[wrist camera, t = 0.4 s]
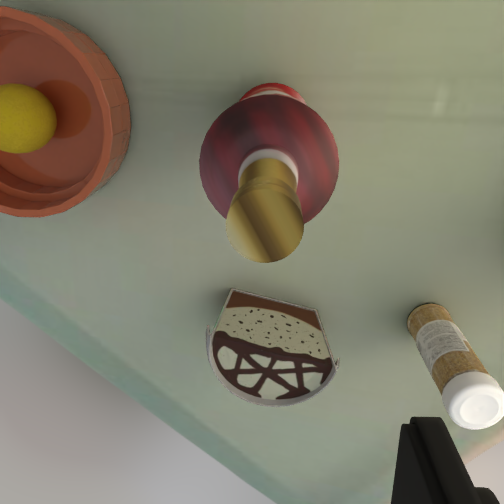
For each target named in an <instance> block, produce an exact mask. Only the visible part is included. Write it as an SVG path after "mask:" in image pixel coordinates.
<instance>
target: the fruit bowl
mask: <svg viewBox="0 0 504 504" xmlns="http://www.w3.org/2000/svg"><path fill="white" fill-rule="evenodd" d="M9 83H13V84H23V85H27V86H30V87H33V88H35V89H36V90H38V91H40V92H41V93H42V94H44V95H45V96H46V97H47V98H48V99H49V101H50V102H51V104H52V105H53V107H54V110H55V112H56V117H57V126H56V130H55V133H54V135H53V137H52V138H51V140H50V141H49V142H48V143H47V144H46V145H44V146H43V147H42V148H40V149H38V150H35V151H32V152H29V153H10V152H4V151H2V150H0V212H2V213H6V214H9V215H13V216H17V217H45V216H49V215H53V214H57V213H61V212H64V211H66V210H68V209H70V208H72V207H73V206H75V205H77V204H78V203H80V202H82V201H83V200H85V199H86V198H87V197H89V196H90V195H92V194H93V193H94V192H96V191H97V190H99V189H100V188H101V187H103V186H104V185H105V184H106V183H107V182H108V181H109V179H110V178H111V177H112V176H113V175H114V174H115V173H116V172H117V170H118V169H119V167H120V165H121V163H122V161H123V158H124V156H125V154H126V152H127V149H128V143H129V137H130V131H131V122H130V111H129V102H128V99H127V96H126V93H125V90H124V87H123V84H122V81H121V78H120V76H119V75H118V73H117V72H116V70H115V68H114V67H113V65H112V64H111V62H110V60H109V59H108V57H107V56H106V55H105V53H104V52H103V51H102V50H101V49H100V48H99V47H98V46H97V45H96V44H95V43H94V42H93V41H92V40H91V39H90V38H89V37H88V36H87V35H85V34H84V33H82V32H81V31H79V30H77V29H76V28H74V27H73V26H71V25H69V24H68V23H66V22H64V21H62V20H60V19H56V18H53V17H50V16H46V15H43V14H40V13H36V12H31V11H26V10H21V9H16V8H11V7H6V6H0V85H4V84H9Z"/></svg>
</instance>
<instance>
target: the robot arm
mask: <svg viewBox="0 0 504 504" xmlns="http://www.w3.org/2000/svg"><path fill="white" fill-rule="evenodd" d="M391 504H500V503H499V501H498V500H497V498H496V496H495V495H494V493H493V492H492V491H491V490H490V489H488V488H484V487H483V488H482V487H474V485H473V483H472V481H471V479H470V476H469V474H468V472H467V470H466V468H465V466H464V464H463V462H462V459H461V457H460V455H459V453H458V451H457V449H456V447H455V444H454V442H453V440H452V438H451V436H450V434H449V432H448V430H447V427H446V425H445V423H444V421H443V420H442V419H441V418H440V417H412V418H411V419H410V423H409V424H402V426H401V431H400V439H399V446H398V454H397V462H396V469H395V477H394V484H393V492H392V499H391Z"/></svg>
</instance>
